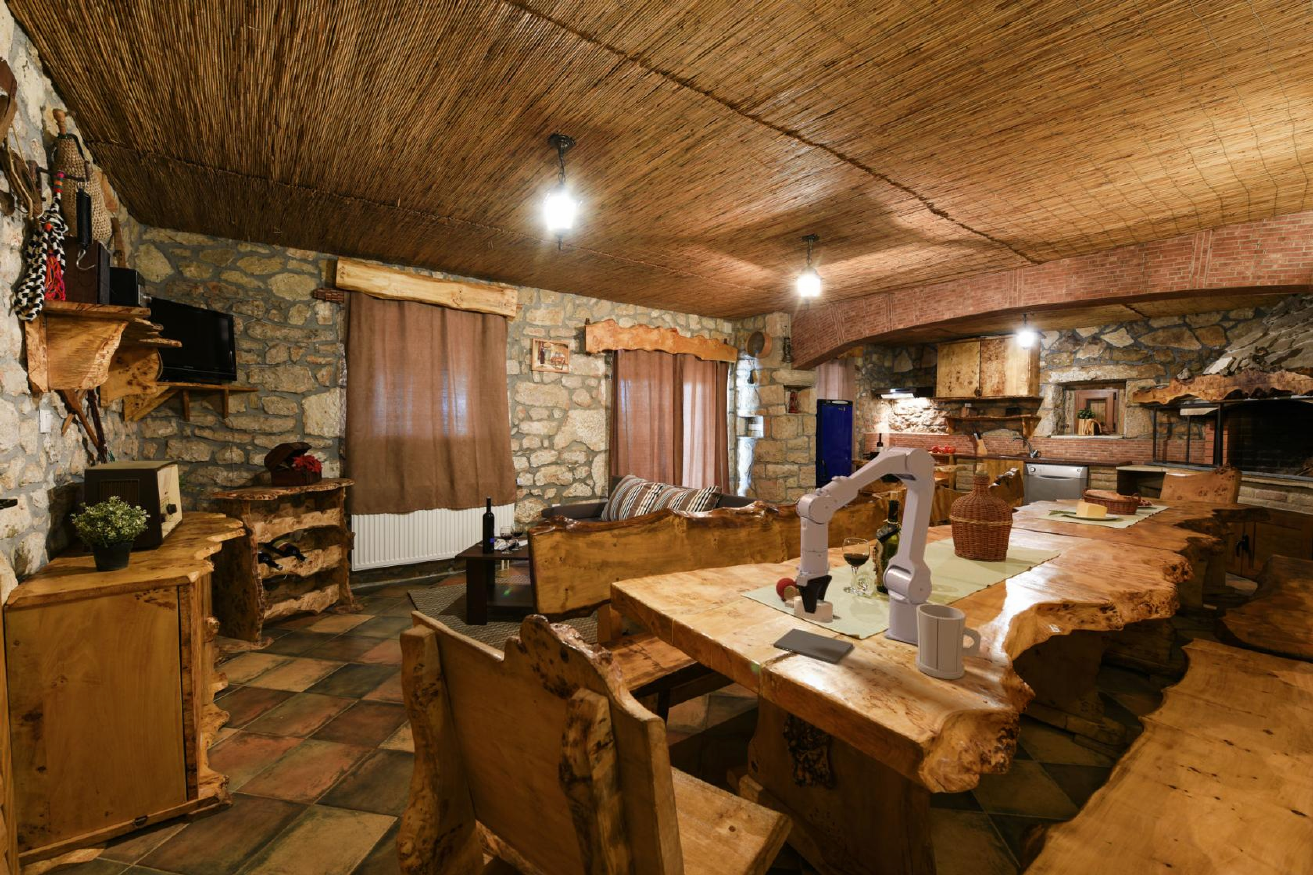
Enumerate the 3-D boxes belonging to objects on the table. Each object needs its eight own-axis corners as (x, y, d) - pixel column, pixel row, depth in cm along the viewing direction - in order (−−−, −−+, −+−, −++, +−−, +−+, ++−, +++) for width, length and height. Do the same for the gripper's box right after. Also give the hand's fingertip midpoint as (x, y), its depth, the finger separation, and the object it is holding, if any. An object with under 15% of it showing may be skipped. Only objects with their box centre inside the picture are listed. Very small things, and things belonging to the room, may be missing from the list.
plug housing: (835, 619, 117) (835, 603, 117) (829, 624, 114) (829, 607, 114) (789, 608, 124) (789, 593, 123) (782, 613, 121) (783, 597, 121)
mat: (853, 646, 119) (853, 643, 119) (835, 664, 110) (836, 661, 110) (793, 630, 127) (793, 628, 127) (773, 646, 118) (773, 643, 118)
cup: (955, 659, 112) (956, 602, 112) (983, 680, 103) (985, 619, 103) (906, 659, 112) (907, 603, 111) (930, 681, 103) (931, 620, 102)
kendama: (839, 617, 140) (789, 588, 155) (840, 595, 138) (789, 569, 153) (819, 628, 136) (769, 598, 151) (819, 606, 134) (769, 578, 149)
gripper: (809, 540, 126) (808, 597, 126) (783, 552, 114) (782, 615, 115) (839, 544, 122) (838, 603, 122) (815, 558, 110) (814, 622, 111)
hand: (813, 609), depth 118 cm, fingers closed on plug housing, 4 cm apart
